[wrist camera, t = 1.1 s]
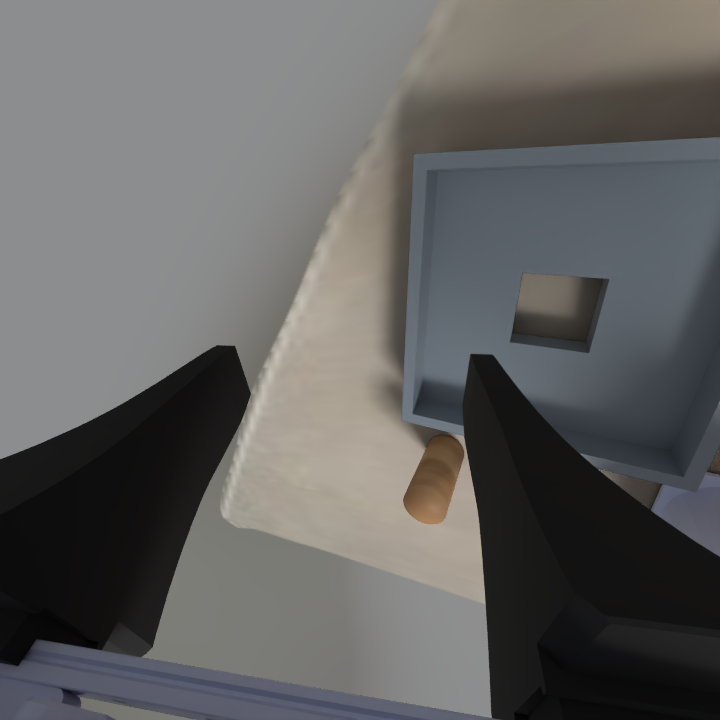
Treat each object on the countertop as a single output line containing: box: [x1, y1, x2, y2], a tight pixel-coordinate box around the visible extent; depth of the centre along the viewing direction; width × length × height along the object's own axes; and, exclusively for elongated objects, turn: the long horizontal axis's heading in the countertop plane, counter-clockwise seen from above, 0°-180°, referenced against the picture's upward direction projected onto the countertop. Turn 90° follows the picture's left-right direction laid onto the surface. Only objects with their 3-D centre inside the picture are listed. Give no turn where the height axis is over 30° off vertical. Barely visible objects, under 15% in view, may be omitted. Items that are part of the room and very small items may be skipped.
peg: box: [403, 435, 464, 524], centre depth 29 cm, size 3×3×7 cm
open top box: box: [402, 137, 720, 492], centre depth 22 cm, size 18×18×4 cm
